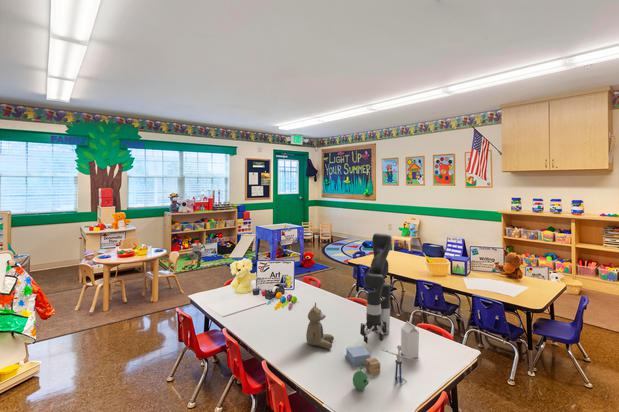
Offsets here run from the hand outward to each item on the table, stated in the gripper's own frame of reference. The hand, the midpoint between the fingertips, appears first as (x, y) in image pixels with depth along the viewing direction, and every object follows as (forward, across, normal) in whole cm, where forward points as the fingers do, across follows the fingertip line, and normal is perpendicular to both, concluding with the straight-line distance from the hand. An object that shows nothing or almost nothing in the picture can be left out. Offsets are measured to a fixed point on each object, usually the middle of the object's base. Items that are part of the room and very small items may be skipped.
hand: (373, 341), depth 167 cm
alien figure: (+16, -8, +12) cm, 22 cm away
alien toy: (+16, +13, +12) cm, 24 cm away
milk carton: (+16, -28, -8) cm, 33 cm away
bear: (+16, +18, -35) cm, 43 cm away
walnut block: (+16, 0, 0) cm, 16 cm away
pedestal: (+16, +3, -12) cm, 20 cm away
